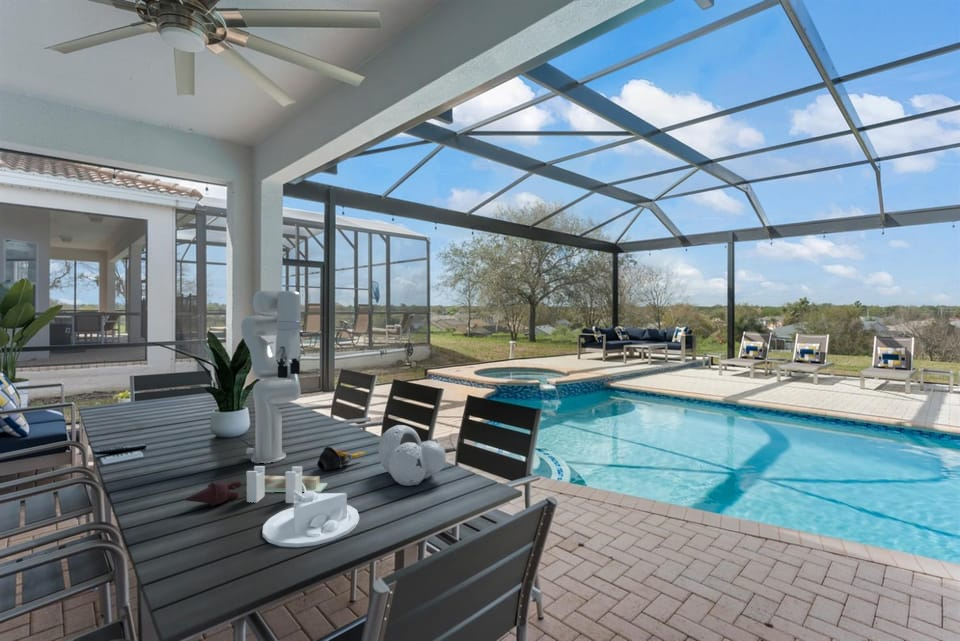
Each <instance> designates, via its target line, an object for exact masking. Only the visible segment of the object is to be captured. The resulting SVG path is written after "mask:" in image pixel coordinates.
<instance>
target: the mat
mask: <svg viewBox="0 0 960 641" xmlns="http://www.w3.org/2000/svg"><path fill="white" fill-rule="evenodd" d="M327 486H328V482H320V485H319V486H318V487H317V488H316V489H306V491H314V492H316V493H322V492H323V491H324V489H325V488H327ZM245 492H246V493H247V489H246V491H245ZM274 492H286V488H265V493H274ZM302 492H305V491H304V489H302Z"/></svg>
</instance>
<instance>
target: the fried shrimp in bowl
mask: <svg viewBox="0 0 960 641" xmlns="http://www.w3.org/2000/svg"><path fill="white" fill-rule="evenodd" d="M349 453H350V452H349V451H346V452H344V451H339V450H336V448H332V447H330V446H326V447H324V448H323V451H322V452H321V453H320V455H319V459H318V461H317V467H318V468H319V469H320V470H321V471H322V472H325V471H326V470H327V471H332V470H335V469H338V468H339V469H344V468H346V467H347V466H349V463H351V461H352V459H355V458H356V459H357V458H358V457H362V456H364V455H365V454H366V451H364V450H362V451H359V452H356V453H352V454H349ZM343 467H344V468H343Z"/></svg>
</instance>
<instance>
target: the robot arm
mask: <svg viewBox="0 0 960 641" xmlns="http://www.w3.org/2000/svg"><path fill="white" fill-rule="evenodd" d="M301 297H302V296H301V293H300V292H298V291H296V290H259V291H257V292H255V294H254V295H253V299H252V307H253V310H254V312H255V313H256V314H258V315H251V316H247V317H245V318H243V320H242V321H241V323H240V324H241V325H240V326H241V334H242V338H243V341H244V343H245V345H246V347H247V348H248V350H249V352H250V360H251V365H252V366H251V367H252V372H253V374H254V377H255V378H256V379H258V380H259V381H257V382H256V383H254V385H253V387H252V396H253V402H254V410H255V412H254V413H255V415H254V417H255V425H254V426H255V427H254V428H255V432H254V433H255V434H254V435H255V439H254V440H255V447H247V448H246V453H245V454H246V455H252V456H251V458H250V461H251V463H253V462H254V463H253V464H259V463H264V464H272V463H271V462H273V463H277V462H280V461H283V460H284V459H286V457H287V453H285V452H284V451H283V448H282V447H283V436H282V435H283V431H282V430H283V425H282V424H283V423H282V422H283V420H282V419H283V417H282V416H283V414H282V411H281V410H280V409H279V408H278V407H277V406H276V405H275V404H278V403H285V402H286V403H288V402H294V401H297V400H298V399H299V398H300V397H301V393H302V392H301V385H300V384H301V383H300V379H299V375H300V373H301V364H300V363H301V353H302V350H301V335H300V332H301V331H302V330H301V329H302V327H301V323H302V322H301V321H302V320H301V316H302V315H301V312H302V311H301V307H302V306H301V301H302V300H301ZM263 336H265V337H267V336H276V338H275V353H274V351H273V350H274V349H273V346H272V345H271V344H270V343H269V342H268V341H267V339H265V338H263ZM282 459H283V460H282Z"/></svg>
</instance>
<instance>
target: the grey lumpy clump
mask: <svg viewBox="0 0 960 641" xmlns="http://www.w3.org/2000/svg"><path fill="white" fill-rule="evenodd" d="M378 457H379V462H380V464H381V466H382V467H383V468H384V470H385V471H386V472H388V473H389V474H390V475H391V477H392V478H393V479H394V481H395V482H396V483H398V484H400V485H401V486H407V487H408V486H409V487H410V486H417V485H419V484H420V483H422V481H423V480H425V479H428V478H429V477H430V476H431V475H434V474H436V473H439V472H441V470H443V468H444V467H445V465H446V460H447V458H446V457H447V455H446V449H445V448H444V447H443V446H442V445H441V444H440V443H438V442H437V441H433V440H430V439H428V440H427V441H423V442H422V440H421V438H420V436H419V434H418V432H417V431H416V429H414V428H413V427H411V426H408V425H404V424H396V425H393V426H392V427H390V428H388V429H387V430H386V431H385V432H384V433H383V434H382V436H381V437H380V440H379V443H378Z"/></svg>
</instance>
